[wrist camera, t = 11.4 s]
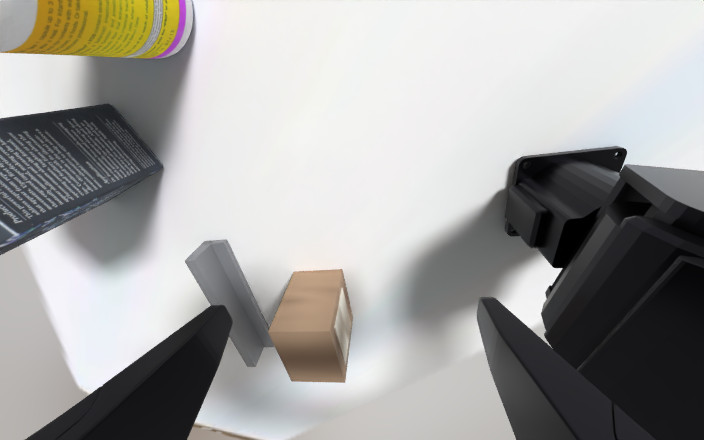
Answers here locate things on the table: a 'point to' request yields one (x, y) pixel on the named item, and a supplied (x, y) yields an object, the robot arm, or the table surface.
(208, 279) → the rail
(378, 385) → the table surface
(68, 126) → the box
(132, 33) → the supplement bottle
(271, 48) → the table surface
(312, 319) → the tea box
